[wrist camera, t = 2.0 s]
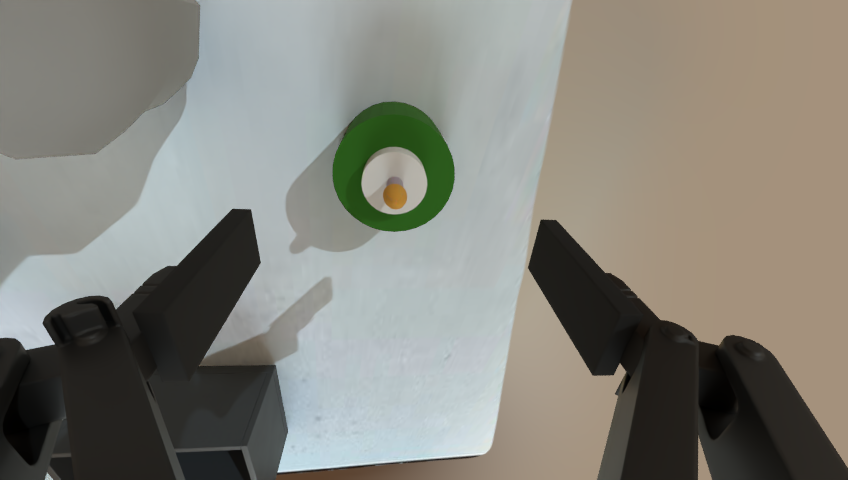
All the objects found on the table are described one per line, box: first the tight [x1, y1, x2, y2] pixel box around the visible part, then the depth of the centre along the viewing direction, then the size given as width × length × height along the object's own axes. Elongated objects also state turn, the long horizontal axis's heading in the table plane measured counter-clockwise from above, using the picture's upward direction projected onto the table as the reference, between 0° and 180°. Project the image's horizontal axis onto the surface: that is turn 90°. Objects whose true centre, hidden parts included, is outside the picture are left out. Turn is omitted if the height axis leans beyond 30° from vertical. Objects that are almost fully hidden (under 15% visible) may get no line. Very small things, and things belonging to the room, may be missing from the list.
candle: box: [333, 102, 454, 232], centre depth 24 cm, size 8×8×10 cm
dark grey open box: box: [47, 366, 288, 480], centre depth 37 cm, size 17×12×9 cm
